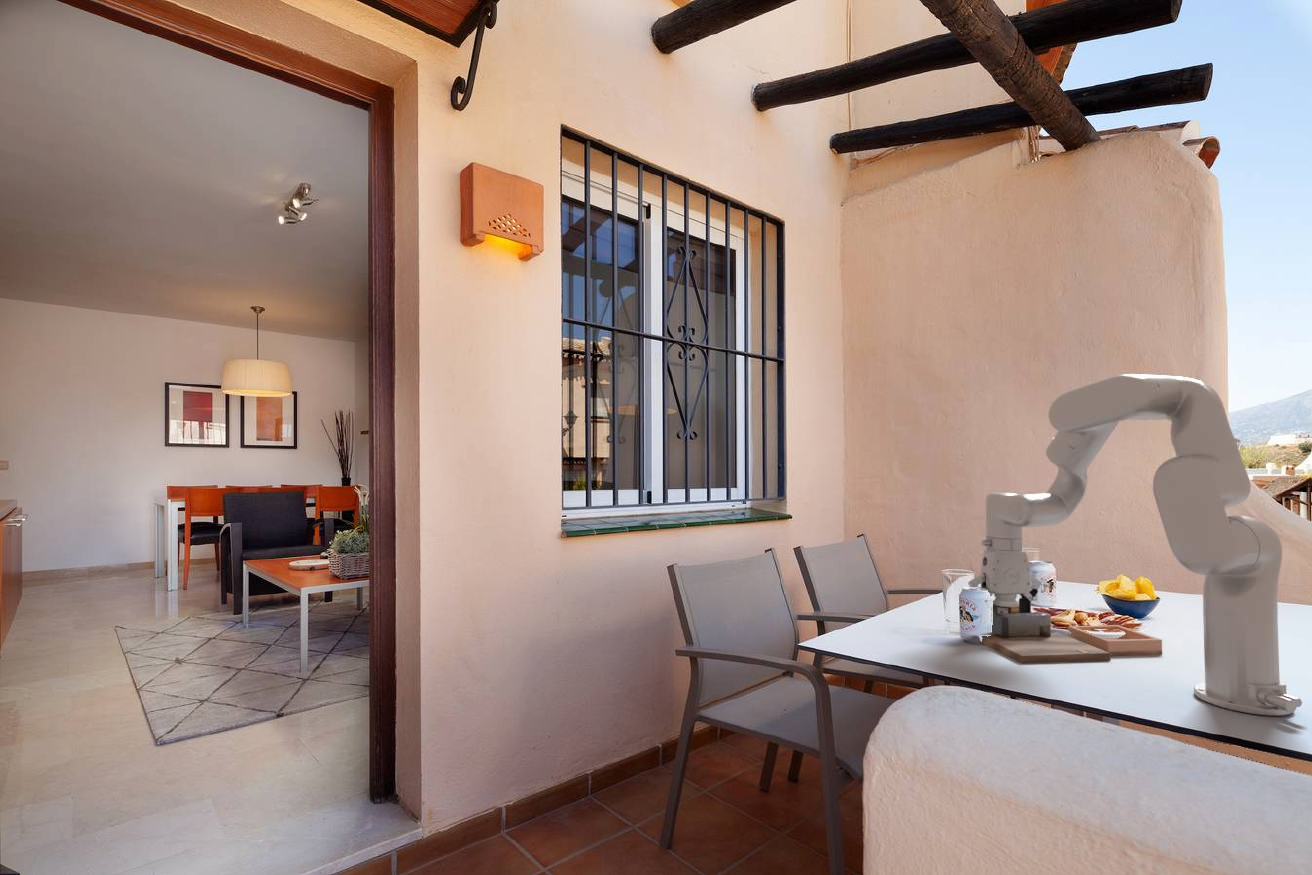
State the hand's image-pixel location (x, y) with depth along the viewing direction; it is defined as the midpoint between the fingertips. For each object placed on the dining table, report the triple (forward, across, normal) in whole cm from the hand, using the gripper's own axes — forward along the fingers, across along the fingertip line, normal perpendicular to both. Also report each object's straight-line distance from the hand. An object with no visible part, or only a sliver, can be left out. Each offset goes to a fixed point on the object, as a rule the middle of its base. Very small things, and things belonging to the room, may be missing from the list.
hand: (1005, 616), depth 154 cm
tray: (+4, +17, -12) cm, 21 cm away
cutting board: (+4, 0, -13) cm, 14 cm away
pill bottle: (+4, 0, 0) cm, 4 cm away
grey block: (+2, 0, -7) cm, 7 cm away
